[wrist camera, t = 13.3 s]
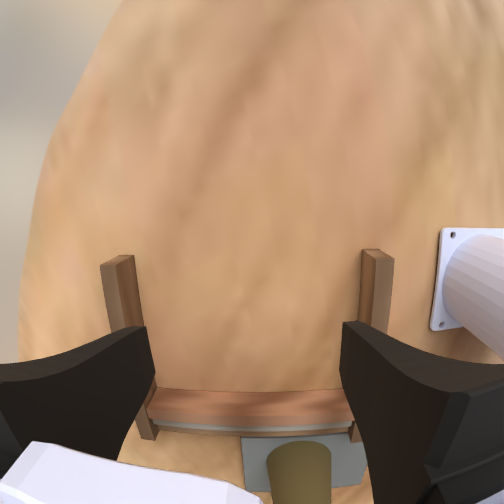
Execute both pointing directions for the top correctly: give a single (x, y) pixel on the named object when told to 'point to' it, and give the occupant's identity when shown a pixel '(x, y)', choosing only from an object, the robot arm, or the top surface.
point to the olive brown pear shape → (300, 473)
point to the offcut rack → (246, 403)
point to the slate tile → (342, 451)
